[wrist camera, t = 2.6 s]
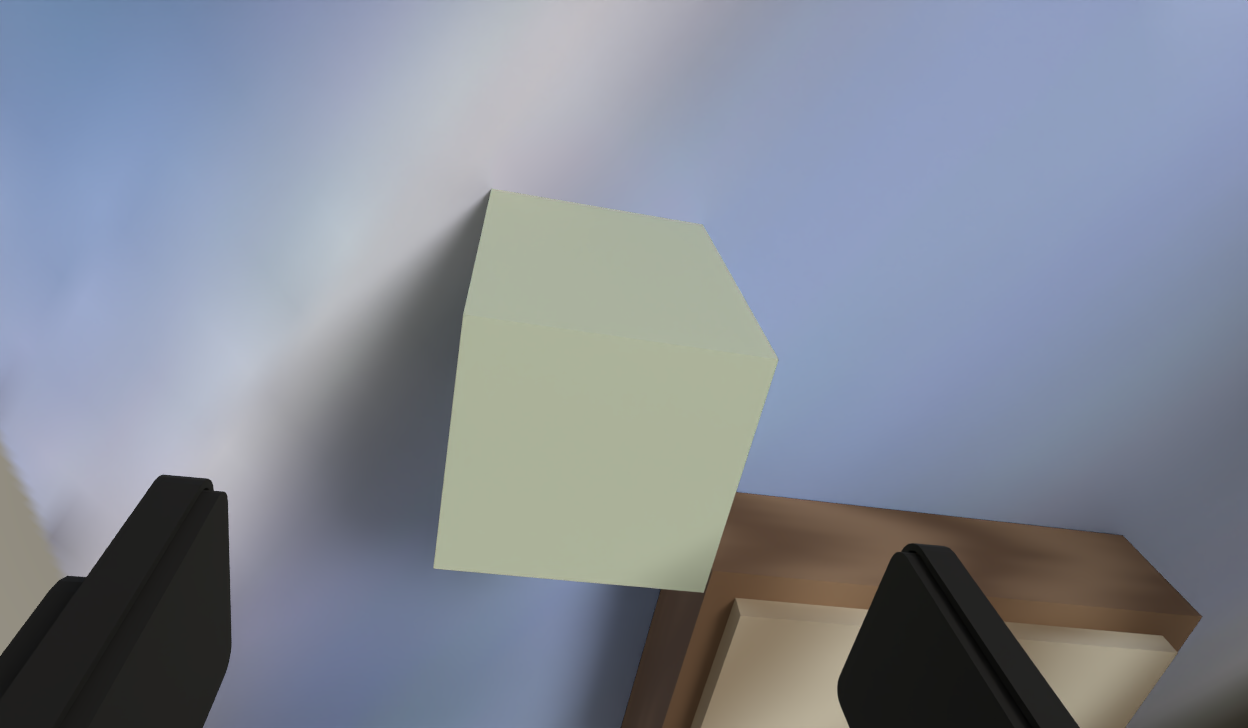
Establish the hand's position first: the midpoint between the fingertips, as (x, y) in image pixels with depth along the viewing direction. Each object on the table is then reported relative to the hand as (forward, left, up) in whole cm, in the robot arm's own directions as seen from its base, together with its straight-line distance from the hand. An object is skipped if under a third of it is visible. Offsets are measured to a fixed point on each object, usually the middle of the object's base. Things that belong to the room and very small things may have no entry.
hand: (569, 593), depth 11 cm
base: (-11, +12, -10) cm, 19 cm away
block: (0, 0, -10) cm, 10 cm away
